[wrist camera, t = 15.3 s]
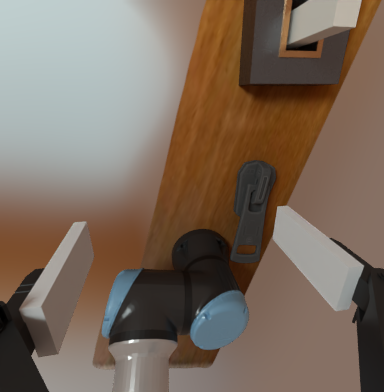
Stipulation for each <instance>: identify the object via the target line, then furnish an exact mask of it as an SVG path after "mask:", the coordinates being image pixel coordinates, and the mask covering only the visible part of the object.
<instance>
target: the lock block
mask: <svg viewBox="0 0 384 392" xmlns="http://www.w3.org/2000/svg"><path fill="white" fill-rule="evenodd" d="M307 1H308V0H244V13H243V28H242V43H241V59H240V74H239V85H257V86H319V85H331V84H338V82H339V78H340V73H341V69H342V64H343V59H344V55H345V50H346V46H347V41H348V37H349V32H350V29H349V30H346V31H343V32H341V33H338V34H335V35H332V36H329V37H327V38H324V39H321V40H318V41H315V42H313V43H310V44H307V45H304V46H301V47H299V48H298V51H286V45H287V37H288V29H289V22H290V14H291V11H292V10H294V9H296V8H297V7H299V6H300V5H302V4H303V3H305V2H307Z"/></svg>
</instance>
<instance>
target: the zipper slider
mask: <svg viewBox="0 0 384 392" xmlns="http://www.w3.org/2000/svg"><path fill="white" fill-rule="evenodd" d="M275 179H276V174H275V168H274V167H273V166H271V165H269V164H267V163H265V162H263V161H257V160H254V161H249V162H245V163H244V164H243V165H242V167H241V168H240V170H239V171H238V176H237V186H236V194H235V202H234V212H235V213H236V214H237V215H238V216H240V221H239V225H238V229H237V233H236V236H235V240H234V244H233V247H232V251H231V255H230V260H231V261H234V262H238V263H253V262H257V261H259V258H260V250H261V242H262V234H263V226H264V218H265V211H266V206H267V201H268V196H269V194H270V191H271V189H272V187H273V184H274V182H275ZM239 245H256V250H255V253H253V254H239V253H236V252H237V247H238V246H239Z"/></svg>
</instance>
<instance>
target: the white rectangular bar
mask: <svg viewBox="0 0 384 392" xmlns="http://www.w3.org/2000/svg"><path fill="white" fill-rule="evenodd" d="M361 1H362V0H308V1H307V2H305V3H303V4H302V5H300V6H299V7H297V8H296V9H294V10H292V11H291V14H290V22H289V29H288V37H287V45H286V50H293V49H296V48H299V47H301V46H304V45H307V44H310V43H313V42H315V41H318V40H321V39H324V38H327V37H329V36H332V35H335V34H338V33H341V32H343V31H346V30H349V29H352V28H355V27H356V23H357V19H358V14H359V10H360V5H361Z"/></svg>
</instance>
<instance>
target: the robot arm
mask: <svg viewBox="0 0 384 392" xmlns="http://www.w3.org/2000/svg"><path fill="white" fill-rule="evenodd" d="M273 240H274V241H275V242H276V243H277V244H278V246H279V247H280V248H281V249H282V250H283V251H284V252H285V253H286V255H287V256H288V257H289V258H290V259H291V261H292V262H293V263H294V264H295V265H296V266H297V268H298V269H299V270H300V271H301V272H302V273H303V274H304V276H306V278H307V279H308V280H309V281H310V283H311V284H312V285H313V286H314V287H315V288H316V289H317V291H318V292H319V293H320V294H321V295H322V296H323V297H324V299H325V300H326V301H327V302H328V303H329V304H330V306H331V307H332V308H333V309H334V310H335V311H339V310H346V309H349V307H350V304H351V301H352V300H353V301H354V302H355V303H356V304H357V305H358V307H357V309H356V312H355V315H354V318H353V321H352V322H353V323H355V321H356V320H357V335H358V351H359V366H360V367H359V368H360V383H361V392H384V269H381V268H373V267H372V266H371V265H369V264H368V263H367V262H366V261H364V260H363V259H361V258H360V257H359V256H358V255H356V254H354V253H353V252H352V251H351V250H350V249H348V248H347V247H346V246H344V245H343V244H342V243H340V242H338V241H336V240H334V239H332V238H328V237H327V236H325V235H324V234H323V233H322V232H320V231H319V230H318V229H316V228H315V227H314V226H313V225H311V224H310V223H309V222H307V221H306V220H305V219H304V218H302V217H301V216H300V215H299V214H297V213H296V212H295V211H293V210H292V209H291V208H290V207H288V206H278V207H277V214H276V220H275V227H274V233H273ZM93 259H94V253H93V248H92V244H91V239H90V234H89V229H88V225H87V222H75V223H74V224H73V225H72V227H71V228H70V230H69V232H68V233H67V235H66V236H65V238H64V240H63V241H62V242H61V244H60V246H59V247H58V249H57V250H56V252H55V253H54V255H53V257H52V258H51V260H50V261H49V263H48V264H47V266H46V268H42V269H35V270H34V271H33V272H31V273H30V274H29V275H27V276H26V277H25V279H24V280H23V281H22V283H21V284H20V287H18V288H17V290H16V291H15V294H13V295H12V297H11V298H10V300H9V301H8V302H7V304H5V303H4V302H3V301H0V392H49V391H48V389H47V387H46V385H45V383H44V381H43V379H42V377H41V375H40V373H39V371H38V369H37V367H36V365H35V363H34V361H33V359H32V357H31V355H32V353H33V351H34V349H35V350H36V352H37V354H38V357H42V356H49V355H55V354H58V353H59V350H60V348H61V345H62V342H63V339H64V337H65V334H66V331H67V329H68V326H69V323H70V321H71V318H72V315H73V313H74V310H75V307H76V304H77V302H78V299H79V296H80V294H81V291H82V288H83V285H84V283H85V280H86V277H87V275H88V272H89V269H90V267H91V264H92V261H93ZM172 263H173V266H174V269H175V270H153V269H144V268H141V269H127V270H123V271H121V272H120V273H119V274H118V276H117V277H116V279H115V282H114V284H113V287H112V290H111V293H110V296H109V300H108V303H107V307H106V311H105V317H104V321H103V326H102V335H103V337H106V338H110V341H109V348H108V350H109V351H110V352H111V354H112V355H113V356H114V358H115V360H116V367H115V375H114V383H113V391H112V392H169V357H170V355H171V354H172V353H173V351H174V350H175V349H176V347H177V335H190V336H191V340H192V341H193V342H194V344H195V345H196V346H199V347H200V348H201V349H205V350H212V349H218V348H221V347H224V346H226V345H228V344H230V343H231V342H233V341H234V340H235V339H236V338H238V337H239V336H240V335H241V334H242V332H243V331H244V330H245V328H246V326H247V323H248V320H249V311H248V307H247V305H246V302H245V299H244V295H243V294H242V292H241V290H240V288H239V286H238V284H237V282H236V280H235V278H234V276H233V273H232V271H231V269H230V267H229V251H228V247H227V245H226V243H225V241H224V239H223V238H222V237H221V236H220V235H219V234H218V233H216V232H214V231H212V230H207V229H198V230H193V231H190V232H188V233H186V234H185V235H183V236H182V237H181V238H179V239H178V241H177V242H176V243H175V245H174V247H173V250H172Z"/></svg>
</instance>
